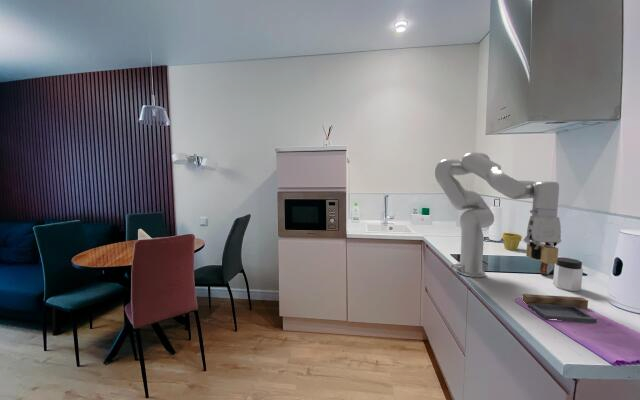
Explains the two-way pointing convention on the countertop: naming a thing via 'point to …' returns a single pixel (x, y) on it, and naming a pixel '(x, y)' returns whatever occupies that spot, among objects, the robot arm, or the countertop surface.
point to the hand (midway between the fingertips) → (541, 257)
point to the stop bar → (545, 253)
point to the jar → (568, 274)
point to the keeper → (562, 313)
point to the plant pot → (511, 240)
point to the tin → (546, 268)
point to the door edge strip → (556, 300)
